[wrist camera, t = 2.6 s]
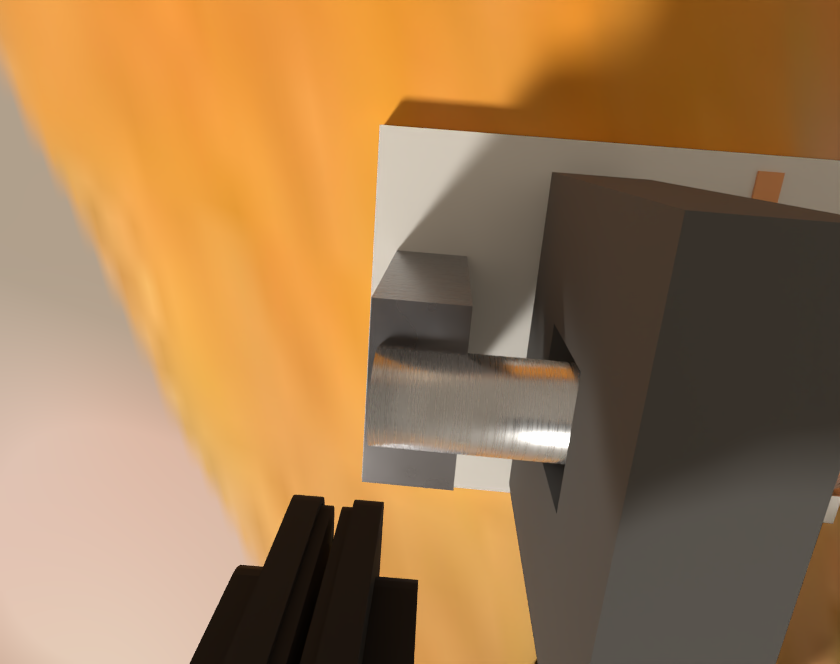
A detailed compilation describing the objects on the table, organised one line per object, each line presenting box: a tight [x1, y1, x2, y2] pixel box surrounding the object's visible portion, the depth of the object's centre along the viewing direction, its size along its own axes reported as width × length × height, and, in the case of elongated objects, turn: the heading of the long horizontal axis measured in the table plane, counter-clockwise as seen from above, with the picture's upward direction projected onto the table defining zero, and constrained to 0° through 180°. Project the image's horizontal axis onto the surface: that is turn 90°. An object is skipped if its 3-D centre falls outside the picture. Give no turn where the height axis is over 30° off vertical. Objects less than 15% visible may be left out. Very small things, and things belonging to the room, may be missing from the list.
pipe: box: [362, 250, 840, 497], centre depth 17 cm, size 16×5×8 cm, turn 86°
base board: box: [362, 125, 840, 524], centre depth 21 cm, size 18×13×1 cm
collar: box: [509, 172, 840, 664], centre depth 15 cm, size 3×11×11 cm, turn 176°
